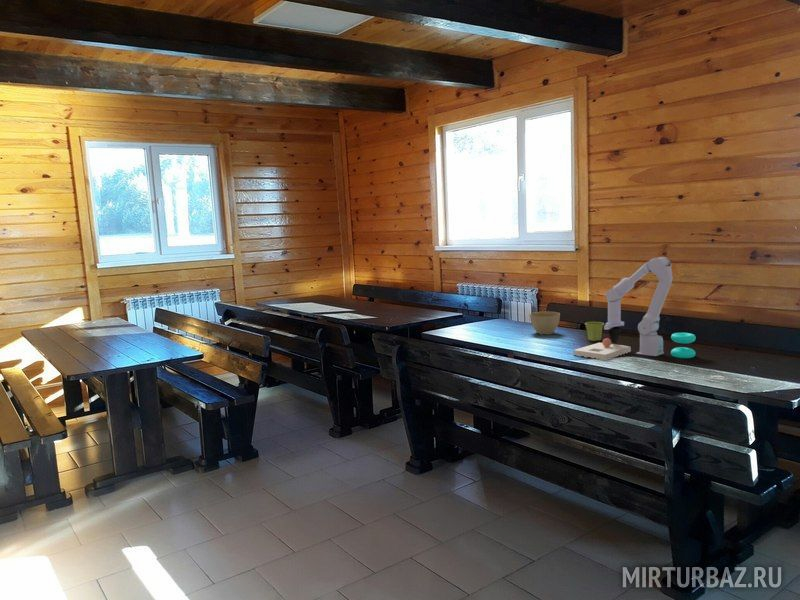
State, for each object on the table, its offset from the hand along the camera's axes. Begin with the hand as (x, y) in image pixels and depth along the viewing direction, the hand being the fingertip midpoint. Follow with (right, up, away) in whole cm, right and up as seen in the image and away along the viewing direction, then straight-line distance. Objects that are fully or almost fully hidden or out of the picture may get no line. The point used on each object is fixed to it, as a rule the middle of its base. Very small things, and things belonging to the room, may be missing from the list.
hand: (614, 342), depth 297 cm
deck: (-8, -5, -6) cm, 11 cm away
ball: (-5, 0, -4) cm, 7 cm away
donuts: (+24, -5, -18) cm, 31 cm away
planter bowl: (-21, +2, +49) cm, 54 cm away
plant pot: (-1, -1, +26) cm, 26 cm away
